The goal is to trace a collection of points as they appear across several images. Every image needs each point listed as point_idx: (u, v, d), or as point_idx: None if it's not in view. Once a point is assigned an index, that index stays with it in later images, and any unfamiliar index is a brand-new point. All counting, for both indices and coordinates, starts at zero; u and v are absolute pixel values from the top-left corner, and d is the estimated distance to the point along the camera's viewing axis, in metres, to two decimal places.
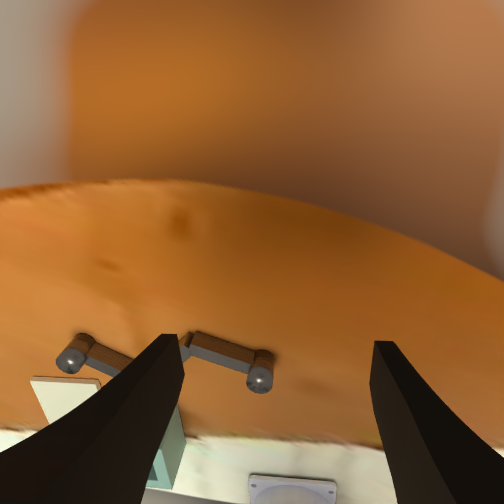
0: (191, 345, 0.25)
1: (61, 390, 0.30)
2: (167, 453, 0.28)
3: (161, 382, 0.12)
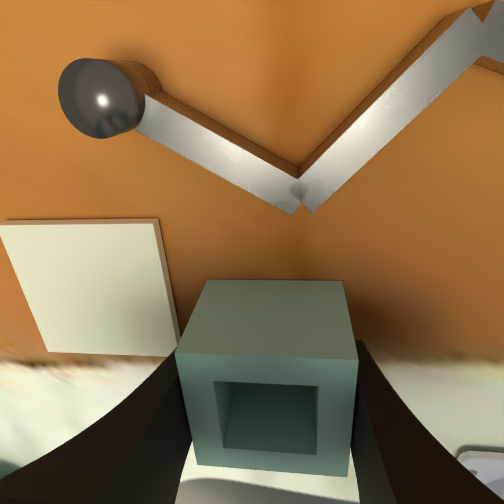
0: (497, 6, 0.08)
1: (70, 247, 0.13)
2: None
3: None
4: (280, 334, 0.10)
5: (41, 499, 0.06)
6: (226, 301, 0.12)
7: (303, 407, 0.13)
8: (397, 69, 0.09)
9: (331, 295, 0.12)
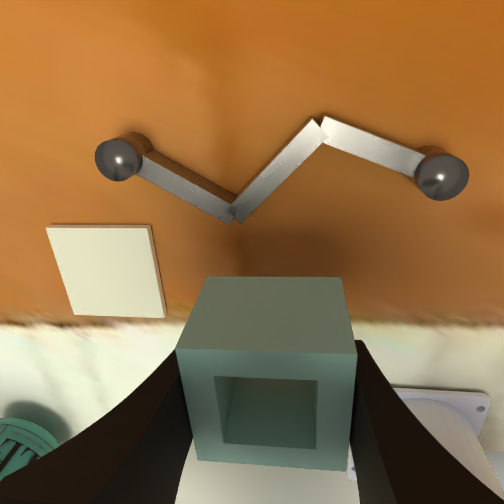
0: (326, 119, 0.15)
1: (93, 242, 0.20)
2: None
3: None
4: (280, 329, 0.10)
5: (41, 500, 0.06)
6: (226, 298, 0.12)
7: (302, 403, 0.13)
8: (285, 144, 0.16)
9: (330, 291, 0.12)
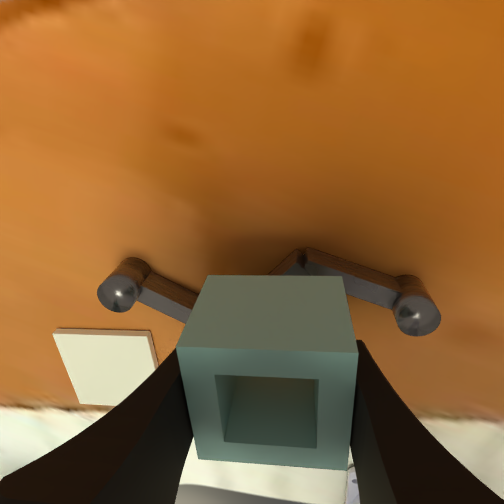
0: (309, 262, 0.16)
1: (97, 346, 0.21)
2: None
3: None
4: (280, 328, 0.10)
5: (41, 499, 0.06)
6: (226, 296, 0.12)
7: (303, 402, 0.13)
8: (273, 273, 0.18)
9: (331, 290, 0.12)
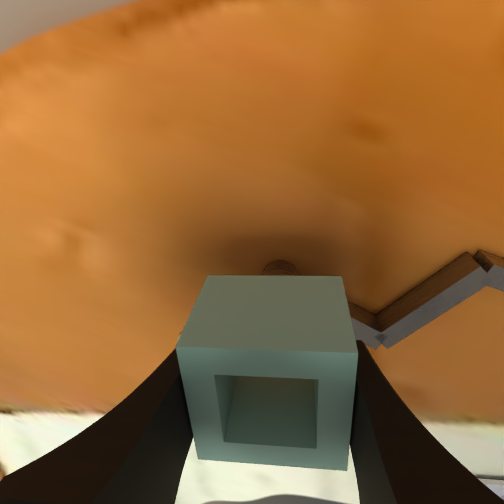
0: (494, 266, 0.15)
1: None
2: None
3: None
4: (280, 328, 0.10)
5: (41, 499, 0.06)
6: (226, 296, 0.12)
7: (303, 402, 0.13)
8: (439, 277, 0.17)
9: (330, 290, 0.12)
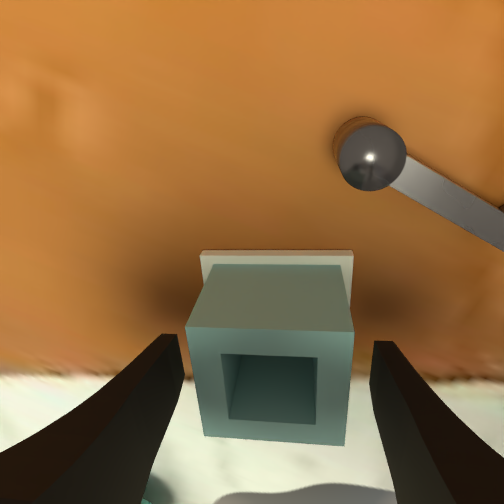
0: None
1: None
2: None
3: (161, 382, 0.12)
4: (282, 310, 0.11)
5: None
6: (231, 283, 0.13)
7: (303, 383, 0.14)
8: None
9: (329, 277, 0.13)
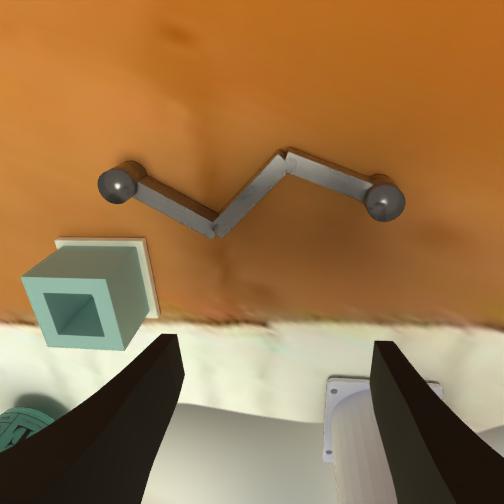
0: (289, 154, 0.18)
1: None
2: (117, 295, 0.20)
3: (161, 382, 0.12)
4: (78, 269, 0.20)
5: None
6: (64, 256, 0.22)
7: None
8: (258, 172, 0.19)
9: (122, 253, 0.22)
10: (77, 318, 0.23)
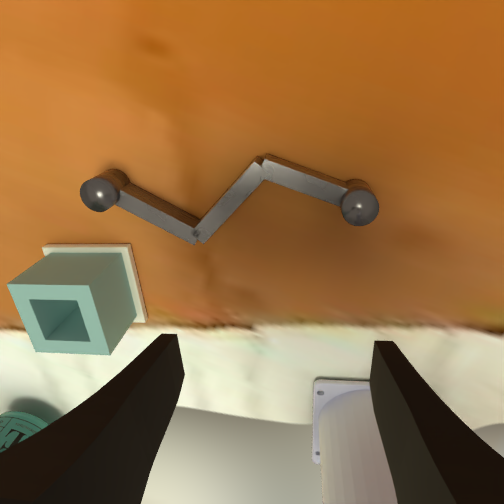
0: (265, 161, 0.18)
1: None
2: (101, 300, 0.21)
3: (161, 382, 0.12)
4: (63, 276, 0.20)
5: None
6: (50, 262, 0.22)
7: None
8: (237, 178, 0.20)
9: (107, 259, 0.22)
10: (65, 323, 0.23)
